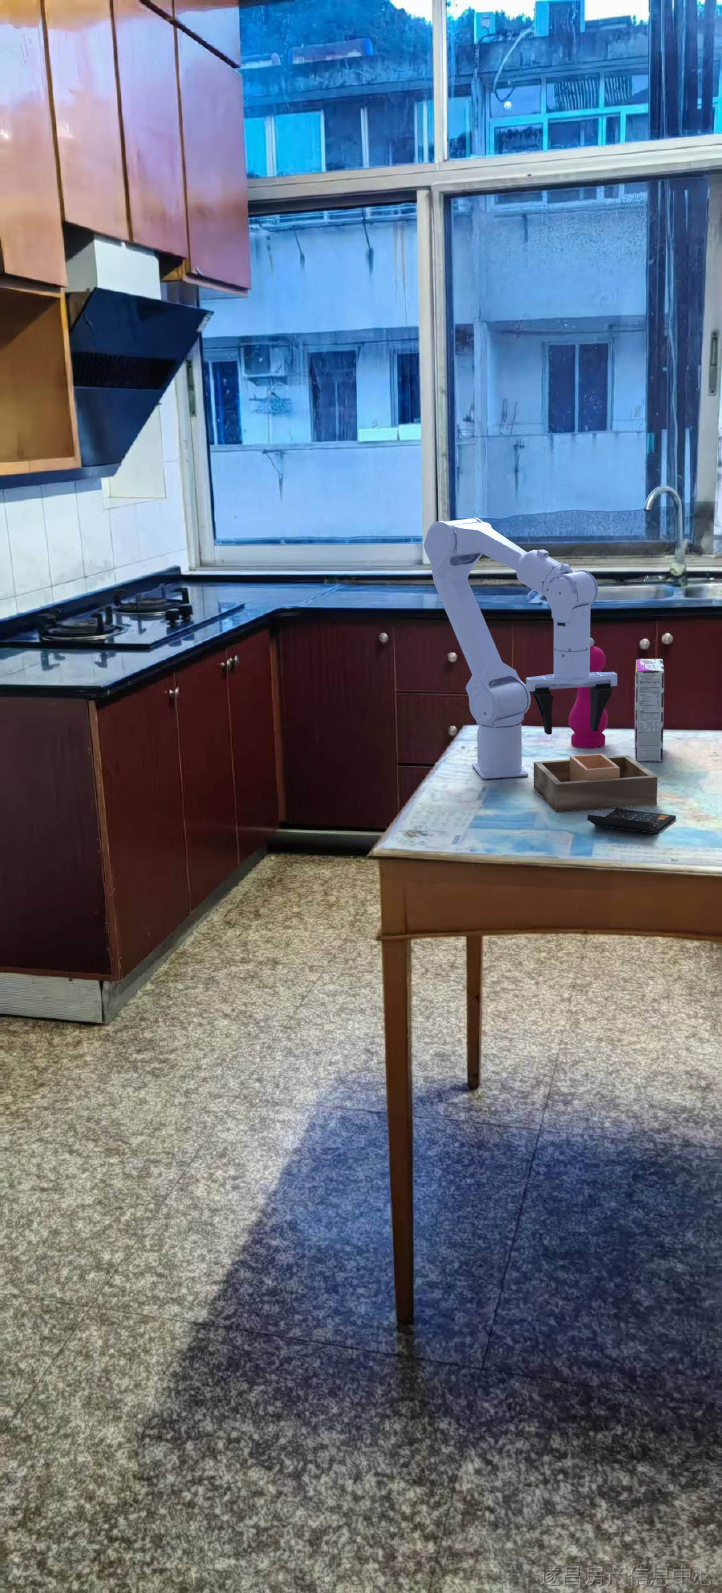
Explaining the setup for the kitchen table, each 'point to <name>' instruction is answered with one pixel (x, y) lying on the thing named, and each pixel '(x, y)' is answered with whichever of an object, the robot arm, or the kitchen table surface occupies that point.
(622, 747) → the kitchen table surface
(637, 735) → the candy bar box
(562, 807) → the walnut crate
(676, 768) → the kitchen table surface
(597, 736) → the pepper mill
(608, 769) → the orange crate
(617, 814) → the calculator
